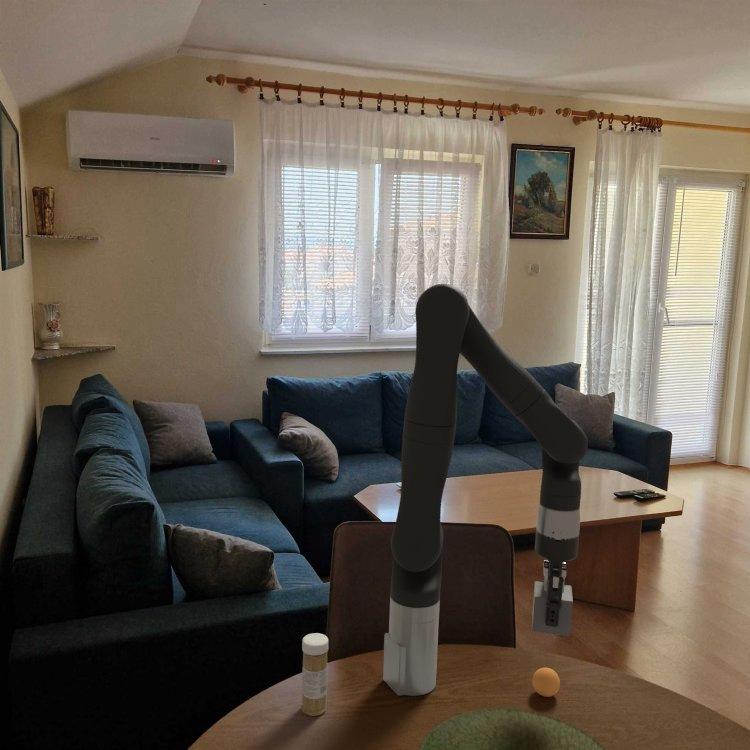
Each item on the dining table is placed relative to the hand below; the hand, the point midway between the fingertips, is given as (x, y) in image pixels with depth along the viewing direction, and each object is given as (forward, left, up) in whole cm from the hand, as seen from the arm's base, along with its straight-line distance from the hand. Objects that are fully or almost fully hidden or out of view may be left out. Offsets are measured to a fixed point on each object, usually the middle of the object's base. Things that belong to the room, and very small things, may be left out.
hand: (551, 615), depth 132 cm
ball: (0, 0, -13) cm, 13 cm away
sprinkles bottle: (-41, +14, -16) cm, 46 cm away
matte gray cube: (0, 0, -2) cm, 2 cm away
